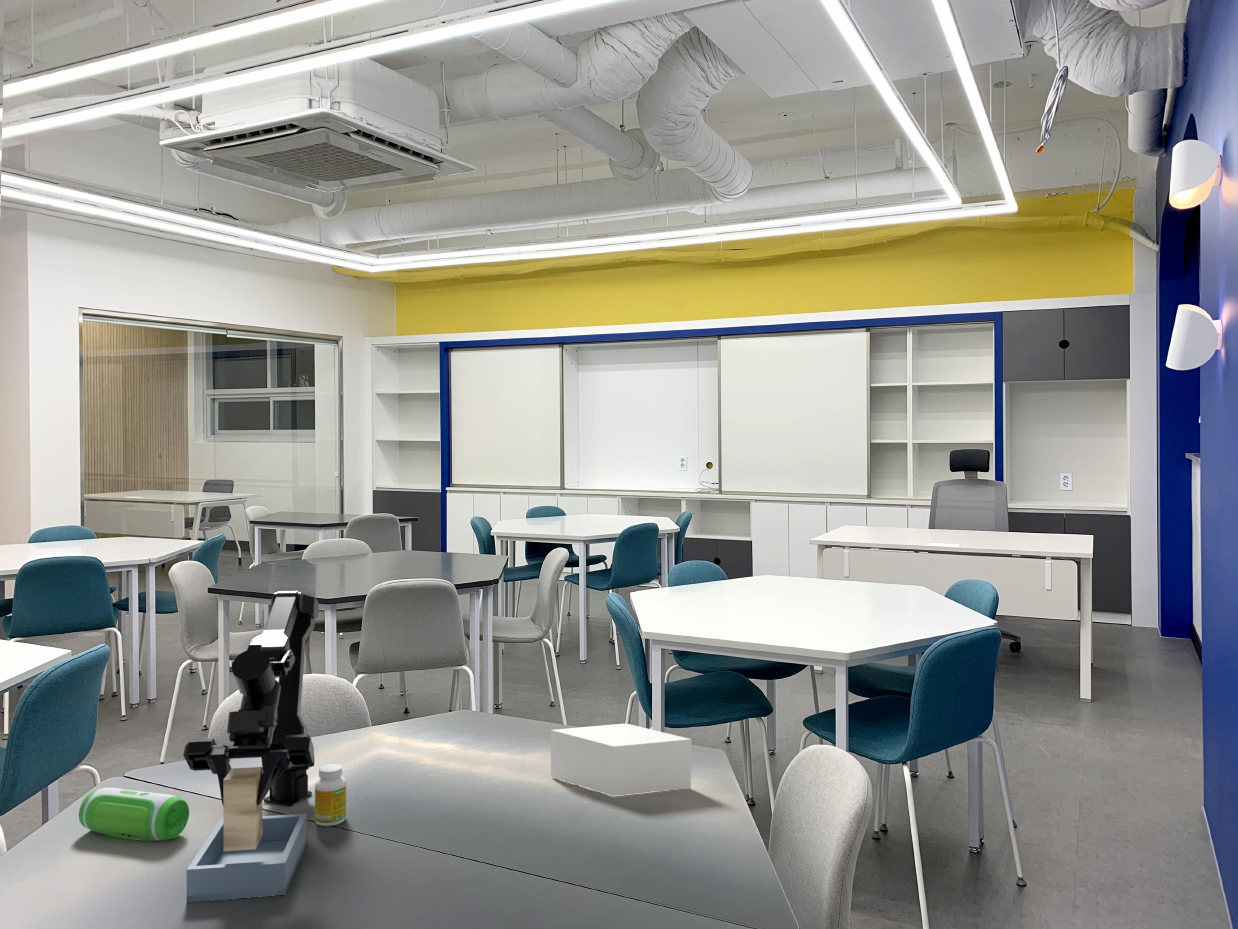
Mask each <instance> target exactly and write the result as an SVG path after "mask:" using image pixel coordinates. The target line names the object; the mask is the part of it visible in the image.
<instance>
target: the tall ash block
mask: <svg viewBox="0 0 1238 929" xmlns="http://www.w3.org/2000/svg"><path fill="white" fill-rule="evenodd" d="M231 768H232V767H231ZM262 774H263V767H262V766H257V767H255V766H254V767H253V766H252V767H238V768H237V767H235V768H234V767H233V768H232V769H231V770H230V771H229V773H228V774H227V776H226V777H225V778H224V780H223V805H222V808H223V817H222V819H223V820H224V851H237V850H252V849H256V847H257V845H258V844H259V842H260V840H261V838H262V836H263V816H264V814H263V813H264V812H263V811H264V810H263V807H264V806H263V802H264V800H263V801H262V802H261V804H260V805H257V794H258V789H259V785H260V781H261V778H262Z"/></svg>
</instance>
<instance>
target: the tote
mask: <svg viewBox="0 0 1238 929" xmlns="http://www.w3.org/2000/svg"><path fill="white" fill-rule="evenodd" d="M307 843H308V813H297V814H295V813H294V814H293V813H292V814H279V815H278V814H277V815H263V836H262V838H261V840H260V842H259V844H258V845H257V847H256V849H252V850H237V851H224V820H223V818H220V819H219V821H218V822H217V824H216V825H215V827H214V828H213V830H212V831H211V833H210V834H209V836H208V837H207V839H206V840H205V842H204V843H203V844H202V846H201V847H200V849H199V851H198V852H197V854H196V855H195V857H194V858H193V860H192V861H191V862H190V864H189V865H188V867H187V868H186V903H187V902H188V903H189V902H191V903H202V902H203V901H205V902H215V900H218V901H228V900H230V899H232V900H240V899H239V898H246V899H249V898H248V897H251V898H250V899H253V898H252V897H259V896H260V897H259V898H262V897H261V896H272V895H285V894H287V892H288V890H289V887H290V885H291V882H292V880H293V878H292V877H294V875H295V873H296V870H297V868H298V866H297V865H299V863H300V861H301V859H302V855H303V854H304V850H305V848H306V846H307ZM289 884H290V885H289ZM287 889H288V890H287ZM285 896H286V895H285ZM237 898H238V899H237ZM209 900H210V901H209ZM197 901H198V902H197ZM201 901H202V902H201ZM230 901H231V900H230ZM203 903H204V902H203ZM189 904H190V903H189Z"/></svg>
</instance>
